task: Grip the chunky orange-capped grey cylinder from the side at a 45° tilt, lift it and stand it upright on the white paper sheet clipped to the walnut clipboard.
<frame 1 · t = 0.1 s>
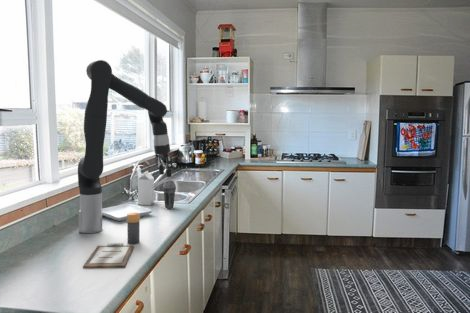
hand: (165, 175, 190), 22 cm above the table, tool pointing down, fingers open, 8 cm apart
beverage cup: (169, 208, 216), on the table
milk carton: (146, 204, 224), on the table
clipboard: (110, 257, 143), on the table
orange-capped grey cylinder: (133, 242, 159), on the table
salad plate: (124, 216, 198), on the table
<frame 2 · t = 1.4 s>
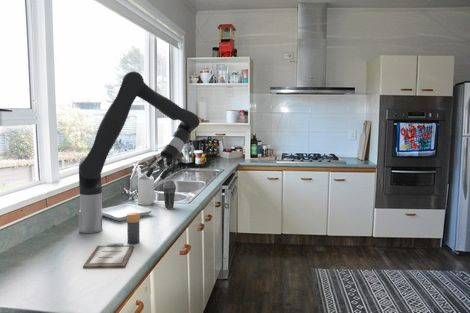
hand: (154, 177, 166), 26 cm above the table, tool tilted 45°, fingers open, 8 cm apart
nothing on the table moved.
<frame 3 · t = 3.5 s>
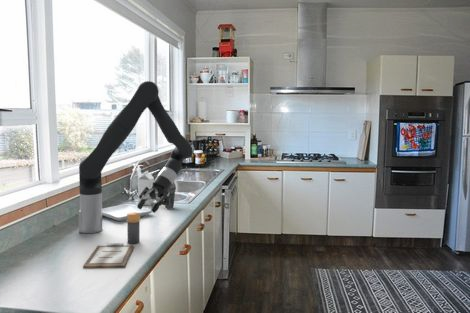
hand: (145, 209, 163), 12 cm above the table, tool tilted 45°, fingers open, 8 cm apart
nothing on the table moved.
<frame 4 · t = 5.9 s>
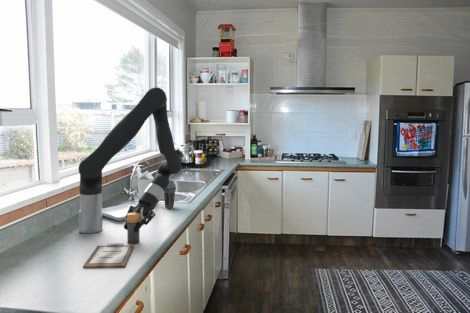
hand: (130, 230, 157), 6 cm above the table, tool tilted 45°, fingers closed on orange-capped grey cylinder, 5 cm apart
orange-capped grey cylinder: (133, 242, 159), on the table, touching gripper
everything else where it was.
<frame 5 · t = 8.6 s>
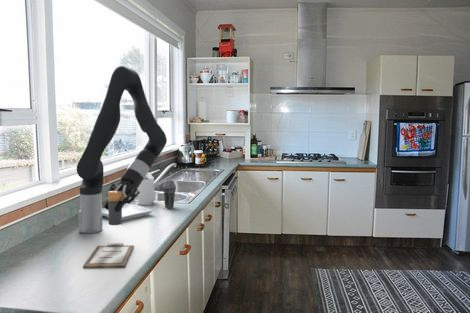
hand: (111, 209, 141), 18 cm above the table, tool tilted 45°, fingers closed on orange-capped grey cylinder, 5 cm apart
orange-capped grey cylinder: (115, 223, 144), point 12 cm above the table, touching gripper
everything else where it was.
when the fingers open (8 cm above the table, at t = 11.2 s): orange-capped grey cylinder drops 1 cm, resting on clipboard.
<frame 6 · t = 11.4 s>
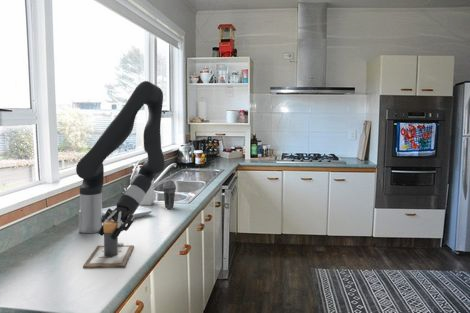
hand: (106, 236, 140), 8 cm above the table, tool tilted 45°, fingers open, 6 cm apart
orange-capped grey cylinder: (111, 254, 142), point 1 cm above the table, touching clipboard
everything else where it was.
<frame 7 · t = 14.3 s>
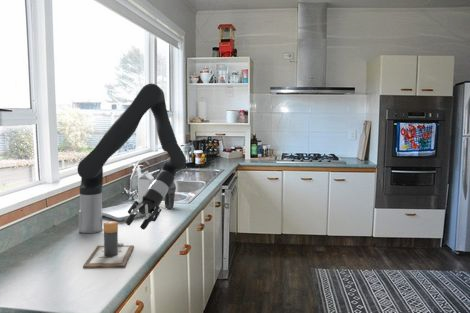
hand: (134, 226, 151), 9 cm above the table, tool tilted 45°, fingers open, 8 cm apart
nothing on the table moved.
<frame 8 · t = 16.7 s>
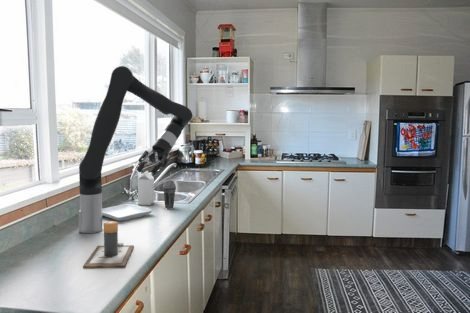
hand: (145, 172, 161), 29 cm above the table, tool tilted 45°, fingers open, 8 cm apart
nothing on the table moved.
at the end: orange-capped grey cylinder inside the target area on the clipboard (0.3 cm from its centre), point 1.0 cm above the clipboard's base; orange-capped grey cylinder tilted 0°; the gripper is holding nothing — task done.
